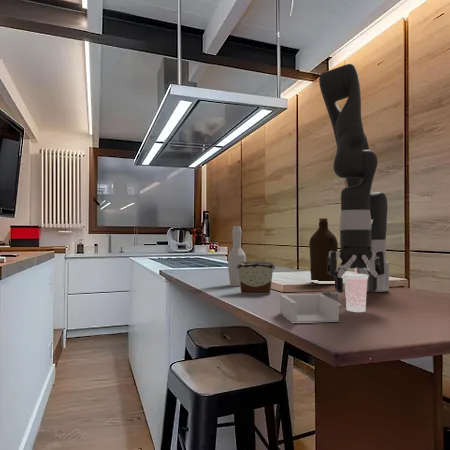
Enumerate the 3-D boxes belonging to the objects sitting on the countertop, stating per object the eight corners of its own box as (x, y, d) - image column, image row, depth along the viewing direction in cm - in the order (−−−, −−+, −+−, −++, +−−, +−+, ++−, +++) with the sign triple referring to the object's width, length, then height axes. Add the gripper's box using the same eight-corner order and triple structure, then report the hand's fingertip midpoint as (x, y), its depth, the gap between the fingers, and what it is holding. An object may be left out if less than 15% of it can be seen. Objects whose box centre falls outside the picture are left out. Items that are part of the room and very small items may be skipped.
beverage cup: (374, 311, 93) (373, 255, 93) (352, 313, 91) (352, 256, 91) (358, 307, 98) (358, 254, 99) (338, 308, 97) (338, 254, 97)
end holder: (321, 312, 92) (321, 293, 92) (338, 322, 81) (338, 301, 81) (280, 313, 91) (280, 294, 91) (292, 324, 80) (292, 302, 80)
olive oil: (342, 283, 144) (341, 218, 145) (331, 286, 136) (330, 217, 136) (316, 280, 151) (316, 219, 151) (304, 283, 142) (304, 218, 143)
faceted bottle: (234, 283, 142) (234, 226, 142) (248, 285, 138) (248, 225, 139) (224, 285, 137) (224, 225, 137) (239, 287, 133) (239, 225, 134)
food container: (274, 291, 125) (274, 261, 125) (275, 294, 119) (274, 262, 119) (237, 290, 126) (237, 260, 126) (236, 293, 120) (236, 262, 120)
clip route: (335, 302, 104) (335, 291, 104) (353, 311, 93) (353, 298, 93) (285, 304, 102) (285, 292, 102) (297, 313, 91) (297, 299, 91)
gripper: (374, 228, 99) (374, 289, 99) (323, 228, 98) (323, 290, 98) (389, 228, 92) (390, 294, 92) (334, 228, 90) (334, 295, 90)
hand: (355, 291), depth 95 cm, fingers open, 8 cm apart
